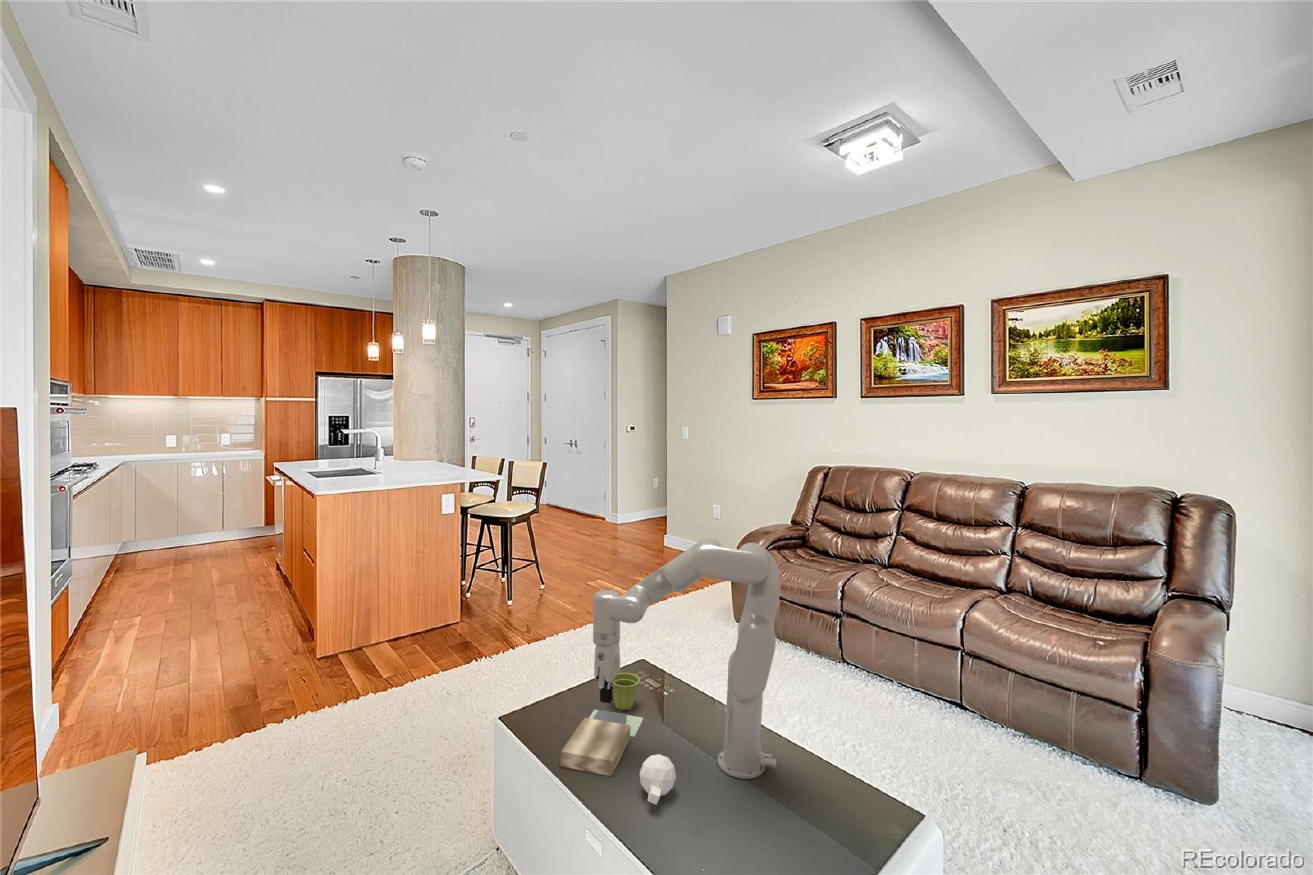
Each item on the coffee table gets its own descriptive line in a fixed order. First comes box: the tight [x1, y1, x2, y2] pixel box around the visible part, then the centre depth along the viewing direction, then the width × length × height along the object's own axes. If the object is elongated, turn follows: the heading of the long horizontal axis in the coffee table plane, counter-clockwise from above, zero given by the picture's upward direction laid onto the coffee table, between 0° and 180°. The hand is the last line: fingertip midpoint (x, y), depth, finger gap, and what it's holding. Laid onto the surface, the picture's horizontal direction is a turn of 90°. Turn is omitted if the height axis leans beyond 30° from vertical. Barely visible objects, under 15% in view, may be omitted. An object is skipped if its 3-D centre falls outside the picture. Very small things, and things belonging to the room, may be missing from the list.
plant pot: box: [612, 672, 641, 711], centre depth 181 cm, size 9×9×9 cm
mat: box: [588, 709, 644, 738], centre depth 170 cm, size 16×11×1 cm
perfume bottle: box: [639, 753, 677, 805], centre depth 137 cm, size 9×9×12 cm
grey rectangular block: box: [593, 709, 628, 724], centre depth 169 cm, size 9×6×2 cm, turn 78°
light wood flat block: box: [560, 717, 631, 777], centre depth 154 cm, size 14×18×4 cm
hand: (606, 701), depth 157 cm, fingers closed
